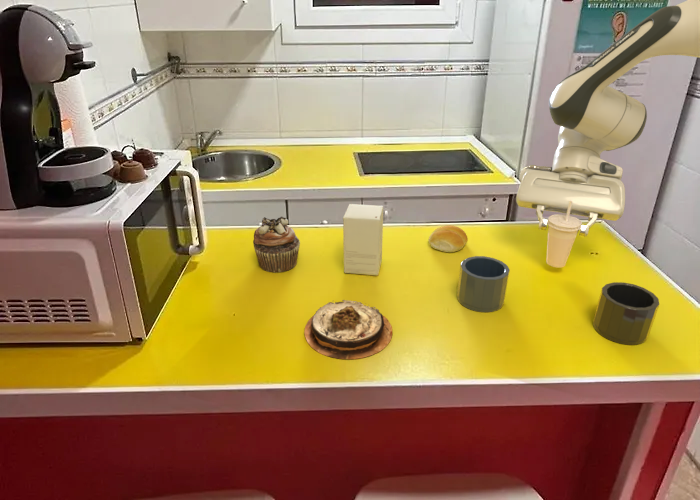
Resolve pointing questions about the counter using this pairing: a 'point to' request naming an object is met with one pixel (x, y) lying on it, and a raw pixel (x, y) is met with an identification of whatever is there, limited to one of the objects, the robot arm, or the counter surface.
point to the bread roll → (448, 238)
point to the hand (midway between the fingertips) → (562, 232)
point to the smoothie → (561, 237)
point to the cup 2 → (625, 313)
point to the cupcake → (276, 245)
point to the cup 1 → (482, 283)
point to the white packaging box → (363, 239)
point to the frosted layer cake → (348, 330)
